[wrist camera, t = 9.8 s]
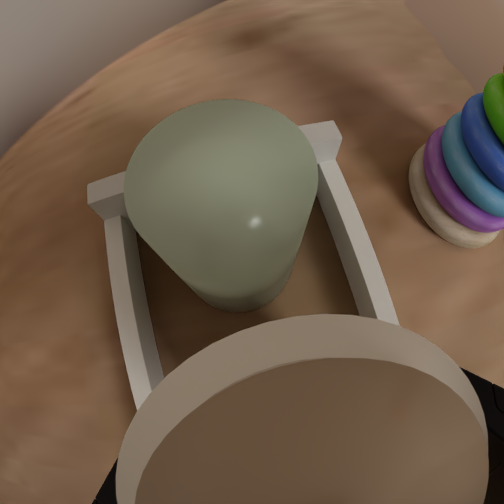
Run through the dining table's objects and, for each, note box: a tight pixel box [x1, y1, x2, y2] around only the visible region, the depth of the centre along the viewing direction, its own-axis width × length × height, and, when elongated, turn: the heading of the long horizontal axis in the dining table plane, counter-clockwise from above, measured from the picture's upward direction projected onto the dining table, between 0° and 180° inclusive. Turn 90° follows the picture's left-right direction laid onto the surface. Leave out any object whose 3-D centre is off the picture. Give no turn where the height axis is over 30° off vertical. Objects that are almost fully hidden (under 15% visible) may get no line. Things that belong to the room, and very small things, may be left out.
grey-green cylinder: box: [124, 99, 318, 313], centre depth 14 cm, size 6×6×9 cm
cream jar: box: [116, 314, 489, 504], centre depth 9 cm, size 6×6×14 cm
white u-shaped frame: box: [87, 120, 400, 411], centre depth 14 cm, size 19×15×4 cm
